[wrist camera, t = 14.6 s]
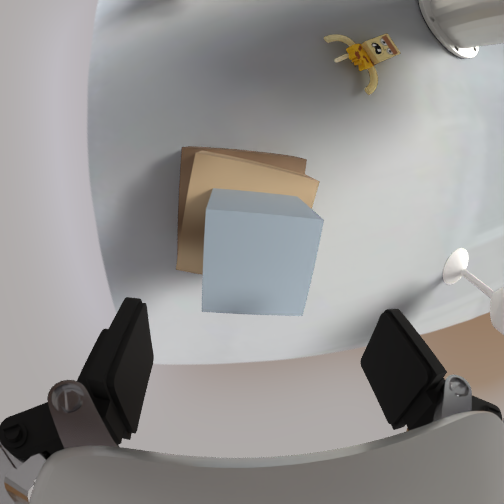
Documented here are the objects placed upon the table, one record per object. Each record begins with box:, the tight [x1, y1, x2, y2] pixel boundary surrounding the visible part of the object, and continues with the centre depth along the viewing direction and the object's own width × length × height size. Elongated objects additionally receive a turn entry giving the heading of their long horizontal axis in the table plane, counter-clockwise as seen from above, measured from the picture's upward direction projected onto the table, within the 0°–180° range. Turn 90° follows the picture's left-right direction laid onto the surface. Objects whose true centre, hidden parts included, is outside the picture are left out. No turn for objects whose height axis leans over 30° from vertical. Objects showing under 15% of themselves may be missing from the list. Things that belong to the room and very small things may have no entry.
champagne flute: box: [443, 248, 504, 335], centre depth 24 cm, size 7×7×24 cm
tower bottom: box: [177, 146, 307, 257], centre depth 27 cm, size 11×11×5 cm
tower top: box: [176, 150, 319, 275], centre depth 22 cm, size 9×9×5 cm
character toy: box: [324, 34, 401, 95], centre depth 21 cm, size 8×3×8 cm
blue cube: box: [202, 188, 324, 316], centre depth 17 cm, size 6×6×6 cm
